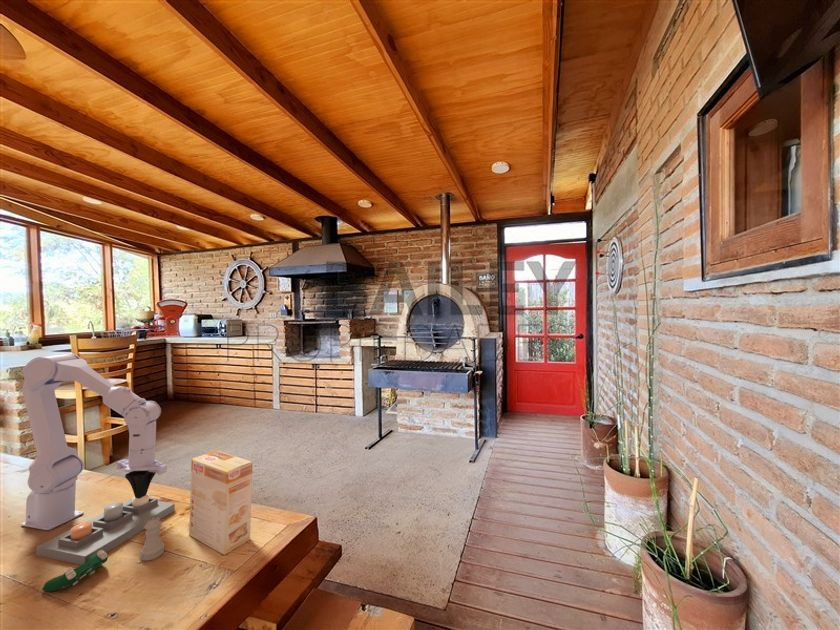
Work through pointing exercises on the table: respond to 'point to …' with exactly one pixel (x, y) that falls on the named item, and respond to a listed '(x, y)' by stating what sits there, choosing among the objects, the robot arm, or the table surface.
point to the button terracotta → (81, 530)
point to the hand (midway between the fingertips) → (140, 496)
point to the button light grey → (113, 512)
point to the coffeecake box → (220, 500)
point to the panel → (104, 533)
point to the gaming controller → (76, 572)
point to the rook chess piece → (152, 540)
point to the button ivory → (140, 501)
